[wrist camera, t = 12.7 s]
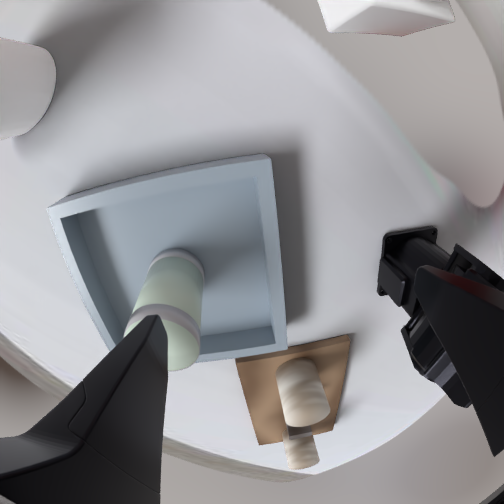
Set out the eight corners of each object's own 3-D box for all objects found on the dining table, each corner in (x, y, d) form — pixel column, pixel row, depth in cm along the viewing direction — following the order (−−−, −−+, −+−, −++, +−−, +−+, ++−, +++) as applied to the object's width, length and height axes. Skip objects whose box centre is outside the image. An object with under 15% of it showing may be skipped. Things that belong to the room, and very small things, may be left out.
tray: (263, 153, 19) (270, 158, 16) (281, 327, 26) (287, 349, 24) (65, 196, 18) (46, 208, 16) (126, 346, 26) (119, 367, 23)
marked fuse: (199, 244, 21) (189, 313, 14) (209, 293, 23) (207, 368, 16) (143, 252, 21) (111, 320, 14) (158, 299, 23) (139, 372, 16)
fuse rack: (347, 334, 28) (372, 383, 22) (331, 425, 38) (342, 460, 31) (235, 356, 27) (240, 412, 21) (258, 440, 37) (263, 476, 31)
